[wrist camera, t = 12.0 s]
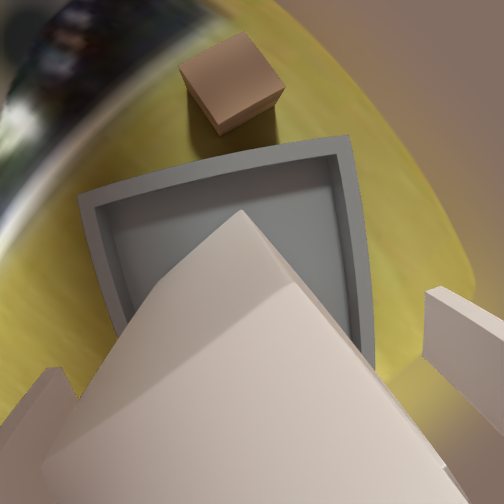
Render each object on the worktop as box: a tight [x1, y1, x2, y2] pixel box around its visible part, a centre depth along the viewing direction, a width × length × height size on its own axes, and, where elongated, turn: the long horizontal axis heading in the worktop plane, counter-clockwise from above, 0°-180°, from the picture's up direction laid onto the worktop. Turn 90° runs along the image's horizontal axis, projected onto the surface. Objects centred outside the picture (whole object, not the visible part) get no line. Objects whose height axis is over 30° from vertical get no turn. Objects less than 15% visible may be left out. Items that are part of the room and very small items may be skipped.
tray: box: [77, 135, 375, 371], centre depth 19 cm, size 16×16×2 cm
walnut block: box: [178, 31, 286, 137], centre depth 16 cm, size 4×4×4 cm
